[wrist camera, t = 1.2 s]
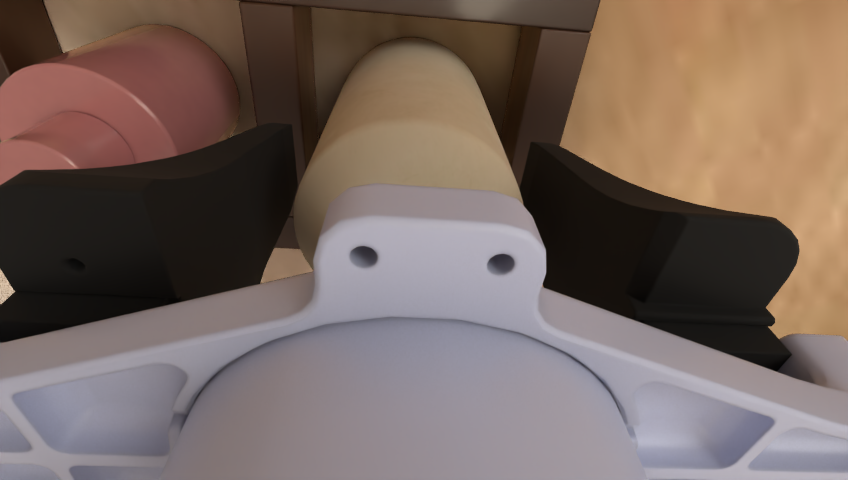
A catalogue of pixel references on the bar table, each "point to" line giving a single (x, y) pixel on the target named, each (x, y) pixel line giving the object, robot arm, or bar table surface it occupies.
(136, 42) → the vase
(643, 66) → the bar table surface
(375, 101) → the candle
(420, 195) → the robot arm
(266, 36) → the holder
